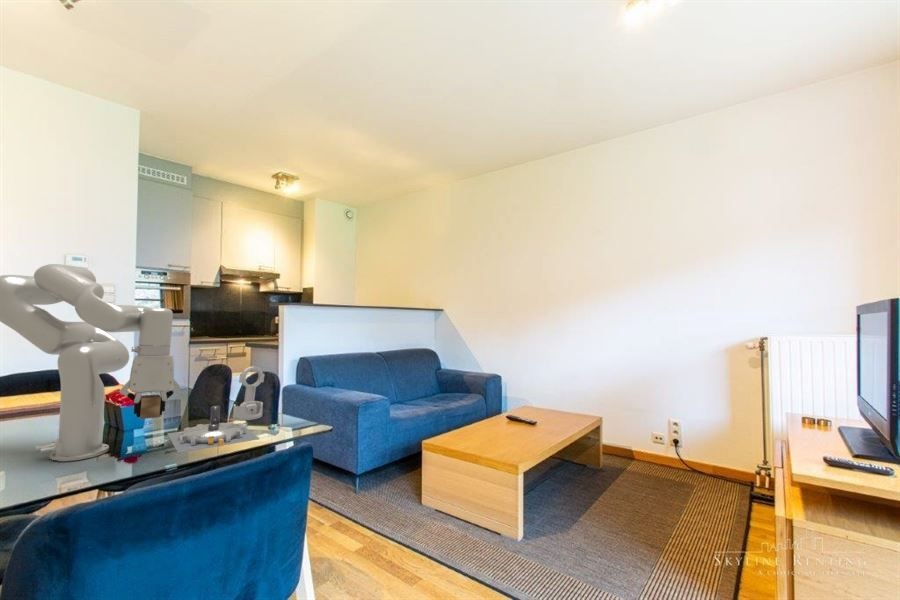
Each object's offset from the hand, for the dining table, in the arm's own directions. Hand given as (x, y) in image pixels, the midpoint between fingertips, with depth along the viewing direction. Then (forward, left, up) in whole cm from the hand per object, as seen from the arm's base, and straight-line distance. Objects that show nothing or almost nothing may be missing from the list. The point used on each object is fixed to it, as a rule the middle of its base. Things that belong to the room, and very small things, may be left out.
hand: (149, 414), depth 118 cm
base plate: (+18, +6, -12) cm, 22 cm away
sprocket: (+18, +5, -10) cm, 21 cm away
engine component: (+34, +25, -12) cm, 44 cm away
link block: (0, 0, 0) cm, 0 cm away
